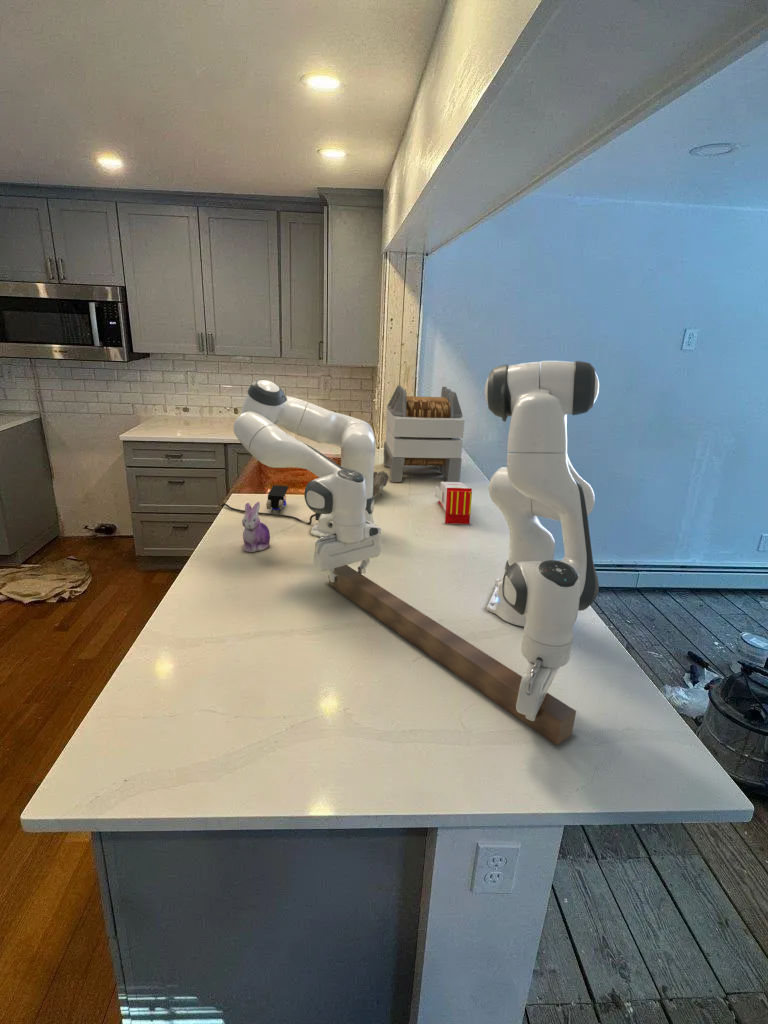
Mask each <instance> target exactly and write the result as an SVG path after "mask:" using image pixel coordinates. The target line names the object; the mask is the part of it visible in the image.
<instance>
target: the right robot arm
mask: <svg viewBox="0 0 768 1024" xmlns="http://www.w3.org/2000/svg"><path fill="white" fill-rule="evenodd" d="M599 392H600V380H599V377H598V374H597V372H596V368H595V366H594V365H592V363H591V362H588V361H581V360H574V361H565V360H541V361H534V362H533V361H531V362H523V363H517V364H510V365H509V363H507V364H502V365H498V366H495V367H493V369H491V370H490V371H489V373H488V377H487V378H486V381H485V385H484V398H485V399H484V400H485V402H486V404H487V408H488V410H489V411H490V412H491V413H492V414H493V415H494V416H496V417H499V418H501V419H502V421H503V422H507V419H508V417H511V418H510V423H509V428H508V436H507V447H506V448H507V451H506V452H507V453H506V454H507V455H506V456H507V457H506V466H503V467H500V468H498V469H497V470H496V471H495V472H494V473H493V475H492V476H491V477H490V480H489V483H488V493H489V497H490V499H491V501H492V503H494V504H495V505H496V507H497V508H498V509H499V511H500V512H501V514H502V515H503V517H504V519H505V521H506V524H507V528H508V531H509V546H508V547H509V549H508V559H507V560H506V562H505V565H504V573H503V576H502V577H501V578H495V582H494V587H495V588H494V590H493V592H492V594H491V596H490V598H489V601H488V604H487V606H486V610H487V611H488V612H490V613H492V614H494V615H496V616H498V617H499V618H500V619H501V620H503V621H504V622H507V623H509V624H512V625H515V626H518V627H523V632H522V633H523V634H522V640H521V646H520V647H521V648H520V653H521V654H522V656H523V657H524V658H525V659H526V661H527V663H528V665H527V667H526V668H525V671H524V672H523V675H522V680H521V684H520V688H519V693H518V698H517V704H516V710H517V712H519V713H521V714H523V715H526V716H525V717H526V719H528V720H531V721H535V719H536V716H537V713H538V710H539V708H540V706H541V704H542V702H543V700H544V698H545V696H546V694H547V693H549V692H548V691H549V690H550V688H551V685H552V683H553V681H554V679H555V677H556V675H557V673H558V672H559V669H560V668H562V667H565V666H566V665H568V663H569V661H570V659H571V658H570V657H571V652H572V651H571V650H572V646H573V641H574V624H575V623H576V621H577V619H578V614H579V611H580V612H582V611H585V610H587V609H588V608H589V607H590V606H591V605H592V604H593V602H595V600H596V598H597V597H598V596H599V591H600V587H599V586H600V583H599V578H598V577H599V576H598V573H597V570H596V567H595V563H594V557H593V550H592V542H591V541H592V540H591V534H590V525H589V518H588V517H589V515H591V514H592V512H593V510H594V507H595V501H596V498H595V492H594V489H593V487H592V486H591V484H590V483H589V482H587V481H586V480H585V479H584V478H582V476H581V475H579V473H578V472H577V471H576V469H575V468H574V466H573V464H572V462H571V460H570V458H569V455H568V430H567V424H568V415H572V416H578V415H582V414H585V413H586V414H587V413H588V412H589V411H590V410H591V409H592V408H593V407H594V404H595V402H597V399H598V396H599ZM539 517H540V518H544V519H547V520H548V519H549V520H553V521H557V522H560V526H561V534H562V541H563V549H564V556H563V558H562V559H559V560H556V559H554V557H555V551H556V540H555V537H554V536H553V534H552V532H550V531H549V530H548V529H547V528H546V527H544V525H542V523H541V521H540V520H539Z"/></svg>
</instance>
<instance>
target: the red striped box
mask: <svg viewBox="0 0 768 1024" xmlns="http://www.w3.org/2000/svg"><path fill="white" fill-rule="evenodd" d="M434 497H435V498H436V499H437V503H438V504H439V505H440V506H441V508H443V510H444V511H445V515H444V524H448V525H449V524H451V525H470V522H471V521H470V520H471V515H472V513H471V512H472V497H473V489H472V488H471V487H470V488H469V487H468V486H467V485H465V484H464V483H463V482H461V481H460V482H447V481H440V487H439V486H438V485H435V491H434Z"/></svg>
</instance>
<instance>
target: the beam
mask: <svg viewBox="0 0 768 1024" xmlns="http://www.w3.org/2000/svg"><path fill="white" fill-rule="evenodd" d="M332 572H333V574H335V575H337V581H336V582H331V581H330V580H329V579H328V585H329V586H331V587H332V588H334V589H335V590H336V591H338V592H340V594H342V595H344V596H345V597H346V598H348V599H349V600H350V601H352V602H353V603H354V604H356V605H357V606H359V607H360V608H361V609H363V610H365V611H366V612H368V613H369V614H370V615H372V616H373V617H374V618H375V619H378V621H380V622H381V623H383V624H384V625H386V626H387V627H389V628H390V629H391V630H392V631H394V632H396V633H397V634H398V635H400V636H401V637H403V639H406V640H407V641H409V642H410V643H411V644H413V645H414V646H415V647H417V648H418V649H419V650H420V651H423V652H424V653H425V654H427V655H428V656H429V657H431V658H432V659H433V660H435V661H436V662H438V663H439V664H441V665H442V666H443V667H445V668H447V669H448V670H449V671H451V672H452V673H454V674H455V675H456V676H457V677H459V678H461V679H462V680H463V681H465V682H466V683H467V684H469V685H470V686H472V687H473V688H475V689H476V690H477V691H479V692H480V693H482V694H483V695H485V696H486V697H488V698H489V699H490V700H491V701H493V702H494V703H495V704H497V705H498V706H500V707H501V708H503V709H504V710H505V711H507V712H508V713H509V714H511V715H513V716H514V717H516V718H517V719H518V720H520V721H521V722H523V723H524V724H525V725H527V726H528V727H529V728H531V729H532V730H534V731H535V732H536V733H538V734H539V735H540V736H542V737H544V738H545V739H546V740H548V741H549V742H550V743H552V744H553V745H555V746H558V745H560V744H561V743H563V742H564V741H565V740H567V739H569V738H570V737H571V736H572V735H573V730H574V725H575V720H576V714H577V710H576V709H574V708H572V707H570V706H569V705H568V704H566V703H564V702H563V701H561V700H560V699H558V698H557V697H555V696H554V695H552V694H551V693H549V692H547V694H546V696H545V698H544V700H543V702H542V704H541V706H540V708H539V710H538V713H537V716H536V719H535V721H531V720H528V719H526V717H525V716H526V715H523V714H521V713H519V712H517V710H516V704H517V698H518V693H519V688H520V684H521V680H522V677H523V675H521V674H519V673H517V672H515V671H514V670H513V669H511V668H509V667H508V666H506V665H505V664H503V663H502V662H500V661H498V660H497V659H495V658H493V656H491V655H489V654H487V653H486V652H484V651H482V650H481V649H480V648H479V647H476V646H475V645H474V644H472V643H470V642H469V641H467V640H465V639H464V638H462V637H461V636H459V635H458V634H456V633H454V632H453V631H451V630H450V629H448V628H446V627H445V626H443V625H442V624H440V623H439V622H437V621H435V620H434V619H433V618H431V617H430V616H427V615H426V614H424V613H423V612H422V611H420V610H419V609H416V608H415V607H414V606H412V605H411V604H409V603H408V602H406V601H404V600H403V599H401V598H399V597H398V596H396V595H395V594H393V593H392V592H390V591H389V590H388V589H386V588H384V587H382V586H381V585H380V584H377V583H376V582H374V581H373V580H371V579H370V578H368V577H367V576H365V575H363V574H360V573H359V572H358V570H356V569H354V568H353V567H351V566H349V564H348V565H344V566H341V567H337V568H334V571H332Z"/></svg>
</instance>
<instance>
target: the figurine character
mask: <svg viewBox="0 0 768 1024" xmlns="http://www.w3.org/2000/svg"><path fill="white" fill-rule="evenodd" d="M288 489H289V485H278V484H277V485H276V484H274V485H272V487H271V488H270V491H269V493H268V494H267V500H266V509H267V510H270V513H271V514H274V511H277V512H278V513H277V514H281V511H282V510H283V509H285V508H284V507H285V506H287V495H286V494H287V492H288Z"/></svg>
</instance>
